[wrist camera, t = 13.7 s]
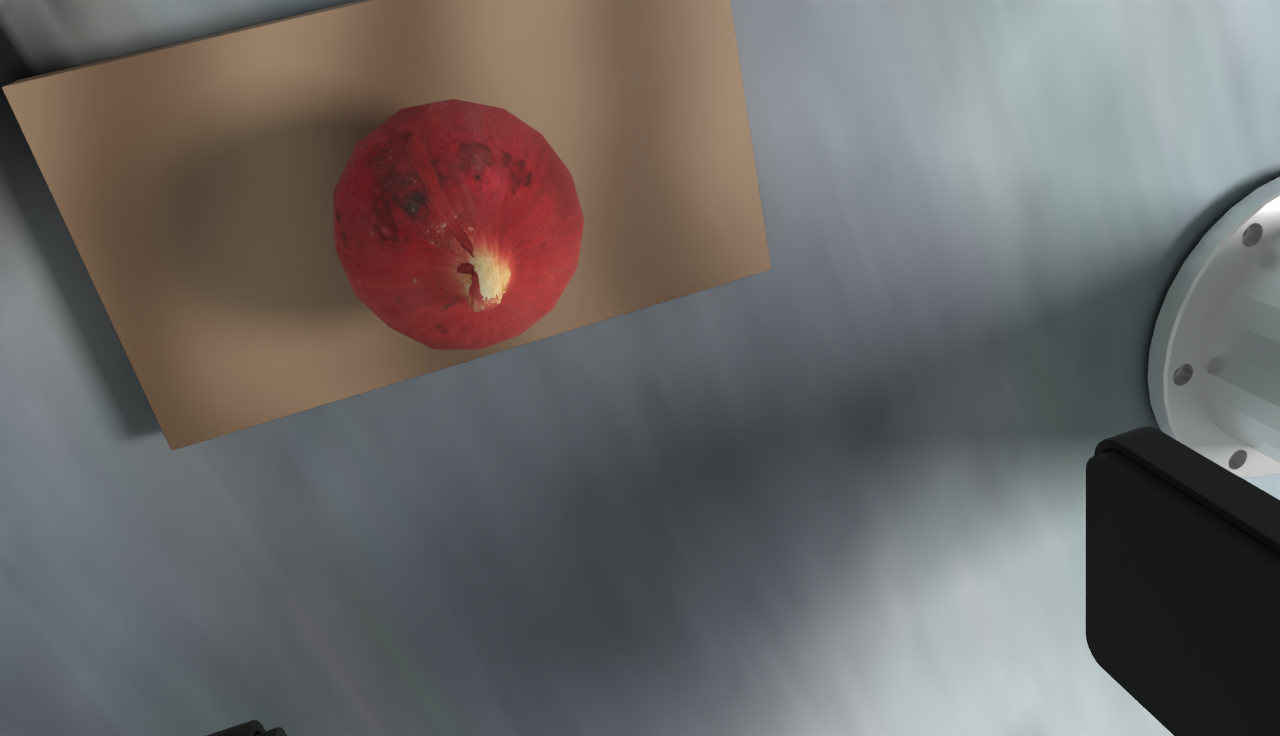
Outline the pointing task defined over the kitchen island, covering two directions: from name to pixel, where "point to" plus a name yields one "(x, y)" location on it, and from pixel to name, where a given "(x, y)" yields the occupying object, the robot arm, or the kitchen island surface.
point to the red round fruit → (457, 224)
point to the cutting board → (319, 151)
